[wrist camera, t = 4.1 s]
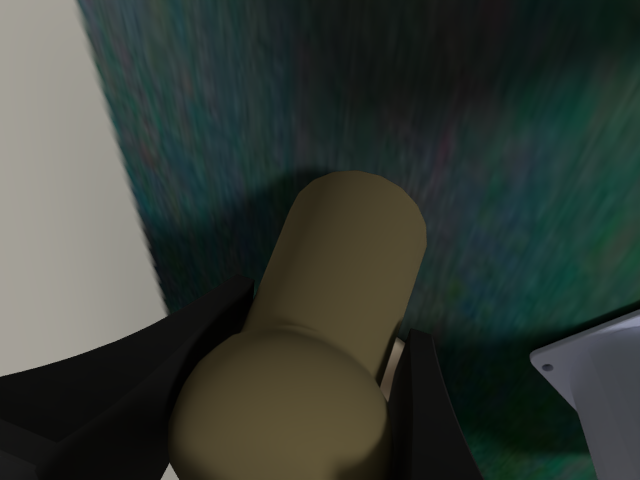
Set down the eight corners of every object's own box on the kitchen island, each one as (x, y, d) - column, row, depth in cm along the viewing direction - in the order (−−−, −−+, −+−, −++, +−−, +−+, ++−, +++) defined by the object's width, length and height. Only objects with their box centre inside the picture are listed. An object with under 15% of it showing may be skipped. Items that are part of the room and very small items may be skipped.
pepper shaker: (410, 154, 14) (355, 420, 5) (439, 285, 17) (434, 611, 8) (267, 186, 17) (62, 411, 8) (312, 297, 19) (199, 563, 10)
